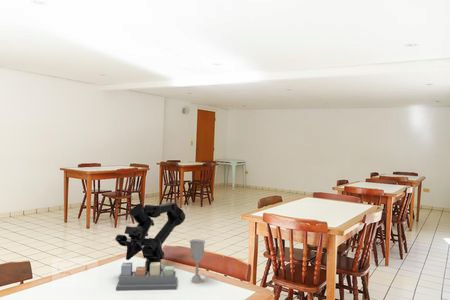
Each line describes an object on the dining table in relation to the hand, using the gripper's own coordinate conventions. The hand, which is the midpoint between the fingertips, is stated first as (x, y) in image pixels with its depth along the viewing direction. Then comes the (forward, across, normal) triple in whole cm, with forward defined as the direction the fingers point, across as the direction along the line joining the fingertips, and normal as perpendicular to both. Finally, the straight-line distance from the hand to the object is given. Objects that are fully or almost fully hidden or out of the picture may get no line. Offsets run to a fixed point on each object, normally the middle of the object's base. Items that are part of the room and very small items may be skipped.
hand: (127, 259), depth 159 cm
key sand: (+1, +11, +9) cm, 14 cm away
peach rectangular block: (+5, +5, +9) cm, 11 cm away
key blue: (+5, 0, +5) cm, 7 cm away
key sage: (+1, +16, +13) cm, 20 cm away
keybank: (+5, +8, +11) cm, 14 cm away
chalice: (-4, +25, +20) cm, 33 cm away
